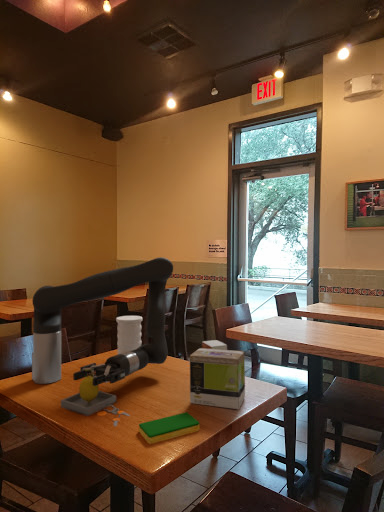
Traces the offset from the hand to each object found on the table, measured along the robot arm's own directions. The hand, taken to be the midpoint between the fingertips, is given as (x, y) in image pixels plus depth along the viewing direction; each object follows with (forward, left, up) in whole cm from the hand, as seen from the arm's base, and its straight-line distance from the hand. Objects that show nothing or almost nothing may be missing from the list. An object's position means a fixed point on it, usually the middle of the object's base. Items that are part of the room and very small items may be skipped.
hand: (83, 379), depth 106 cm
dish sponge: (+30, +2, -9) cm, 31 cm away
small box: (+21, +41, -8) cm, 47 cm away
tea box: (+31, +25, -8) cm, 41 cm away
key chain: (+11, +1, -9) cm, 14 cm away
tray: (0, +2, -8) cm, 8 cm away
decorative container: (-20, +42, -8) cm, 47 cm away
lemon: (0, +2, -8) cm, 8 cm away
